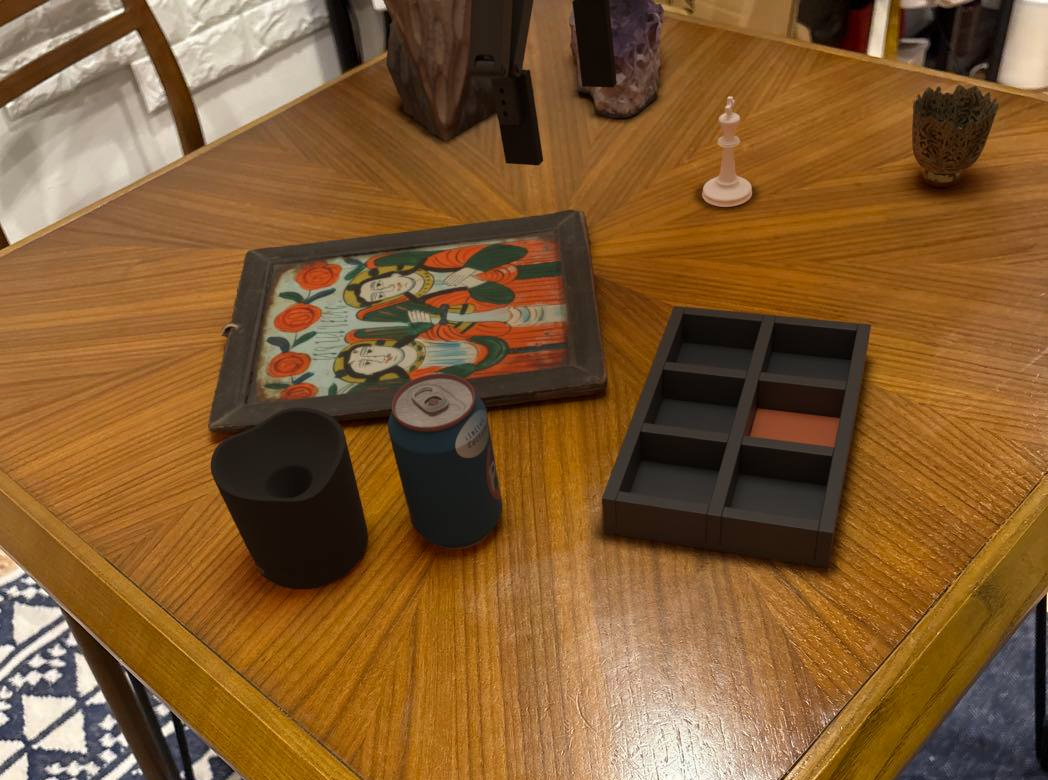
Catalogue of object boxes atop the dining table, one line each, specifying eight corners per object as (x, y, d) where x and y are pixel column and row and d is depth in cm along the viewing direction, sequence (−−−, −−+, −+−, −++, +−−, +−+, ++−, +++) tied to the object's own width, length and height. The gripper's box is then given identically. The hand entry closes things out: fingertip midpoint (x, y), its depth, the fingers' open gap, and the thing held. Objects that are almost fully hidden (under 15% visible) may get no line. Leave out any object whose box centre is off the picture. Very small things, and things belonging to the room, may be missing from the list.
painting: (622, 402, 92) (621, 379, 90) (209, 454, 93) (200, 433, 91) (584, 218, 110) (583, 196, 108) (241, 264, 112) (234, 243, 110)
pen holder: (268, 505, 87) (231, 408, 80) (384, 504, 86) (357, 405, 78) (237, 596, 81) (193, 500, 73) (361, 597, 79) (329, 499, 72)
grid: (865, 359, 91) (871, 323, 88) (828, 568, 76) (833, 533, 74) (674, 339, 95) (674, 305, 93) (604, 533, 81) (601, 498, 78)
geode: (687, 112, 123) (675, 25, 116) (585, 138, 125) (567, 53, 118) (663, 31, 137) (651, -52, 129) (572, 55, 139) (555, -26, 131)
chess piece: (695, 203, 110) (696, 107, 103) (711, 178, 113) (713, 83, 106) (743, 210, 108) (747, 112, 101) (758, 184, 111) (763, 88, 104)
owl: (390, 106, 133) (355, -74, 118) (479, 71, 136) (456, -107, 122) (441, 143, 125) (410, -45, 110) (535, 105, 129) (516, -81, 114)
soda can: (522, 525, 82) (503, 401, 74) (445, 570, 80) (417, 448, 71) (471, 477, 87) (447, 354, 78) (396, 519, 84) (363, 398, 76)
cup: (977, 160, 110) (994, 82, 104) (986, 200, 105) (1004, 119, 99) (899, 162, 111) (911, 84, 105) (903, 200, 106) (916, 121, 100)
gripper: (551, -246, 79) (585, 56, 93) (368, -147, 64) (442, 195, 78) (649, -257, 76) (669, 57, 90) (481, -155, 61) (536, 203, 75)
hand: (563, 122), depth 84 cm, fingers open, 13 cm apart
